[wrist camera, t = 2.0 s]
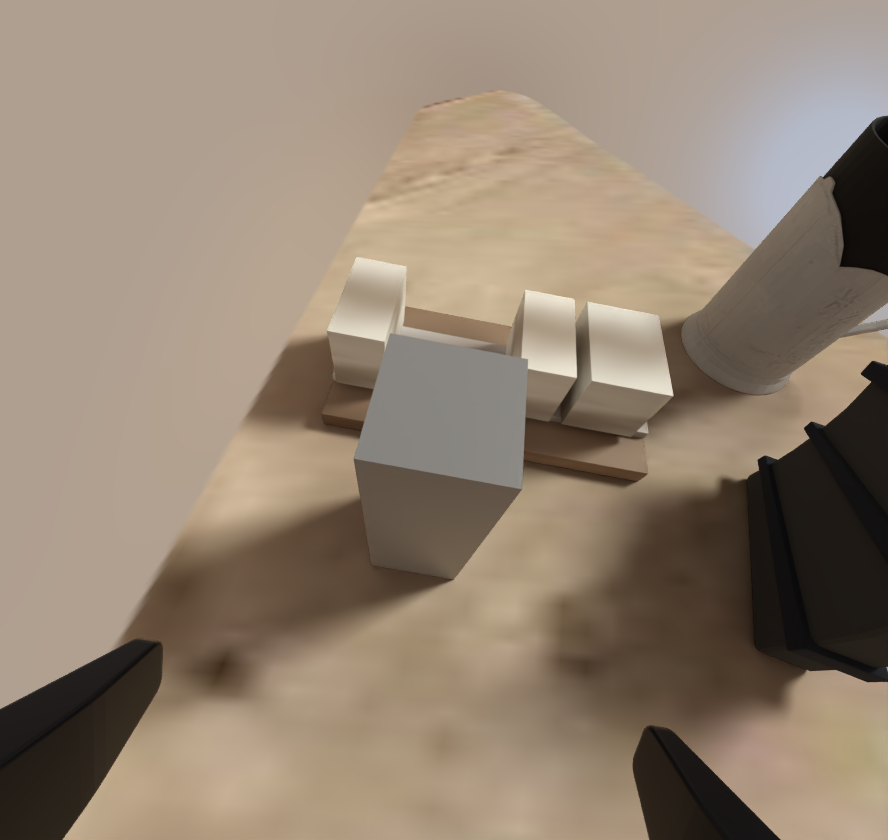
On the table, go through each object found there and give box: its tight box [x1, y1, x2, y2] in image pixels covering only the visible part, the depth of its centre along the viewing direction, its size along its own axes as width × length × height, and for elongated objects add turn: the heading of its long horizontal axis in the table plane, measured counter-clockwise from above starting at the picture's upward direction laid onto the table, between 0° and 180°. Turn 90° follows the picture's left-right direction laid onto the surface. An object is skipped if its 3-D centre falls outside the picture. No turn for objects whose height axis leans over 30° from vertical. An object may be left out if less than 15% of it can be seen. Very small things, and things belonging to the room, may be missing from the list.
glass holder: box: [681, 116, 888, 395], centre depth 27 cm, size 9×14×15 cm, turn 78°
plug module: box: [354, 333, 528, 580], centre depth 17 cm, size 5×4×13 cm
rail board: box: [321, 257, 673, 481], centre depth 26 cm, size 10×20×6 cm, turn 82°
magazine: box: [747, 361, 888, 682], centre depth 20 cm, size 4×13×15 cm, turn 160°
